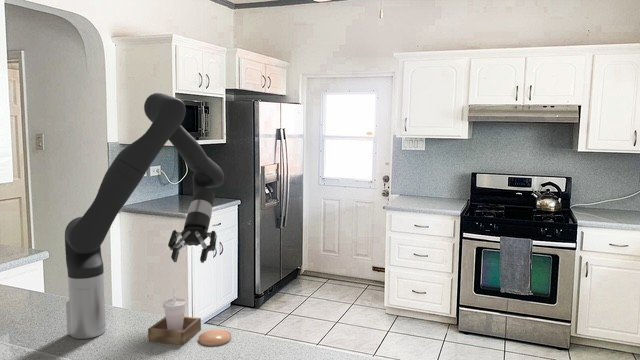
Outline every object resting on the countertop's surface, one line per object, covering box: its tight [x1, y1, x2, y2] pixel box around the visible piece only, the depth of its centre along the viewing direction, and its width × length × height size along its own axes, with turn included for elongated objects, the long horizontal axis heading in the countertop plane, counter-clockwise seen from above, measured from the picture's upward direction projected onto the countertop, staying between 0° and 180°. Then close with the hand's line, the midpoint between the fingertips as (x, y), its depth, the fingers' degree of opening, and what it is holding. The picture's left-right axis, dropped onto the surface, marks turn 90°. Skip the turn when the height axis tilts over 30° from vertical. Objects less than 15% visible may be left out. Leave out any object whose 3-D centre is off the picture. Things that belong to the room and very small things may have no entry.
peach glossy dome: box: [198, 329, 233, 347], centre depth 140 cm, size 9×9×1 cm
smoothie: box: [162, 287, 187, 331], centre depth 142 cm, size 6×6×14 cm
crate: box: [147, 316, 202, 346], centre depth 142 cm, size 11×11×4 cm
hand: (188, 261), depth 152 cm, fingers open, 8 cm apart
